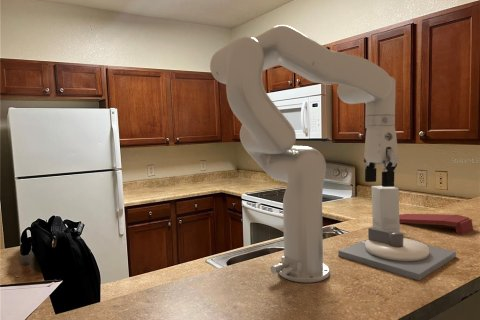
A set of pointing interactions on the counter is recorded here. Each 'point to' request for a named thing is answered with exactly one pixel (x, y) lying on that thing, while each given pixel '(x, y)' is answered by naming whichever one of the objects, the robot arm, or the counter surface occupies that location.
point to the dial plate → (400, 267)
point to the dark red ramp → (439, 221)
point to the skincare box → (385, 208)
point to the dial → (394, 246)
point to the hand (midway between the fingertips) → (378, 184)
